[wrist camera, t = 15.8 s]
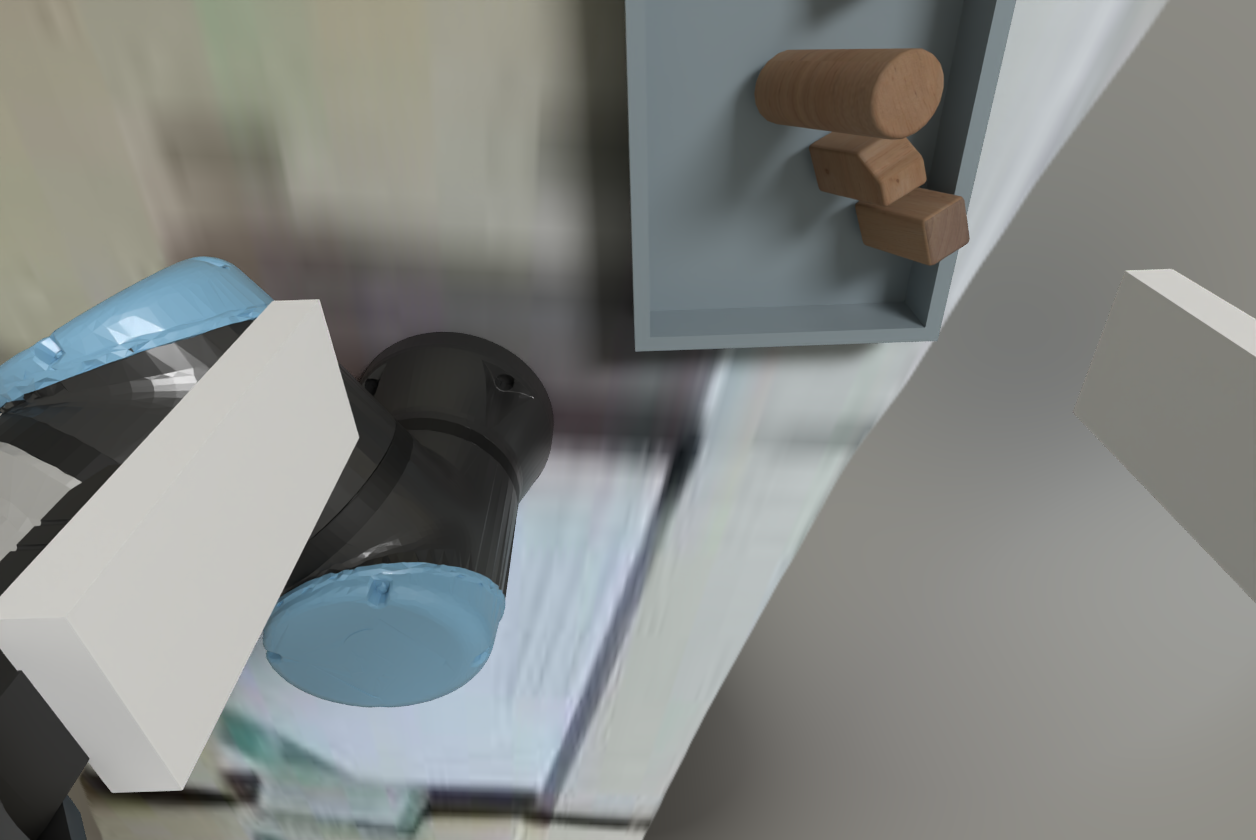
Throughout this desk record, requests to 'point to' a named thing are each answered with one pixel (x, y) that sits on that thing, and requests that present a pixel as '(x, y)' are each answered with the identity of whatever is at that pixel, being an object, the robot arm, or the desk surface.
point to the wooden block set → (870, 140)
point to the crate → (783, 173)
